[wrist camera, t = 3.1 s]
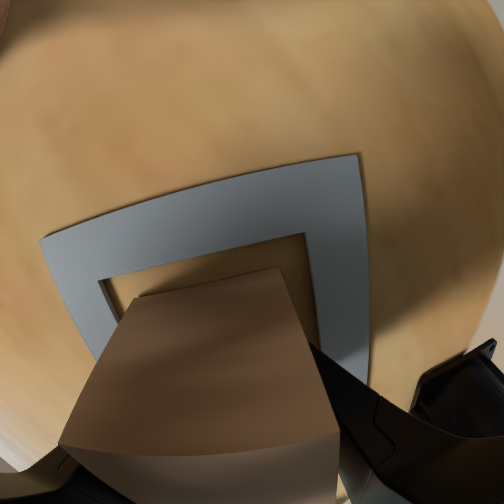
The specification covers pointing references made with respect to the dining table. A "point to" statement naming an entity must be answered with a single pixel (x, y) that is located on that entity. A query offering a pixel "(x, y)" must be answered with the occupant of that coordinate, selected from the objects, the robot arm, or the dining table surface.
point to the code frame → (231, 246)
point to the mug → (4, 14)
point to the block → (209, 401)
